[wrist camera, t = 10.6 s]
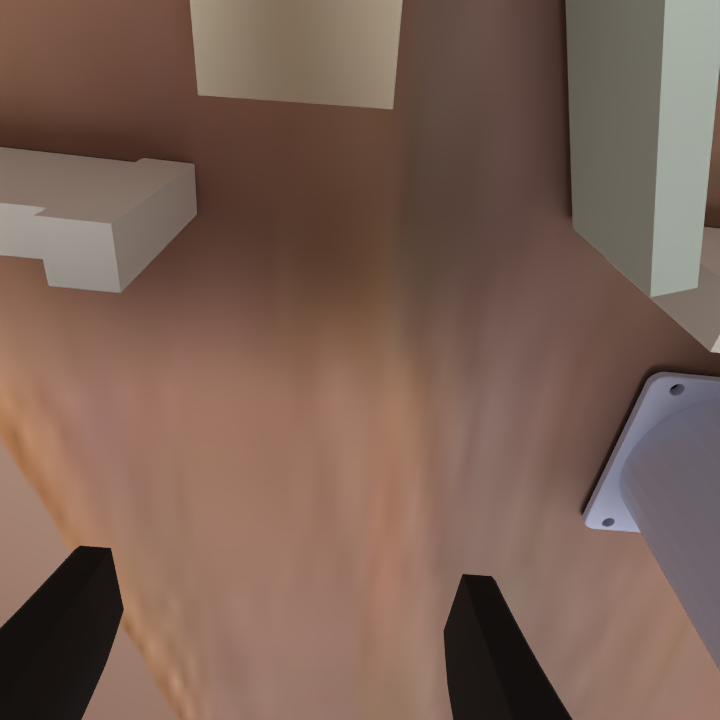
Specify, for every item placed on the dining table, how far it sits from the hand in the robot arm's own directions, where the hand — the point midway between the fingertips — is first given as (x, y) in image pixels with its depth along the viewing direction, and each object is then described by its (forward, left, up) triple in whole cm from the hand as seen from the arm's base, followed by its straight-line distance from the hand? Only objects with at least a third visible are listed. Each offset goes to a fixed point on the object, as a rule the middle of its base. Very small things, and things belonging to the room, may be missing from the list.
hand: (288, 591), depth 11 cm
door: (-7, -11, -9) cm, 16 cm away
